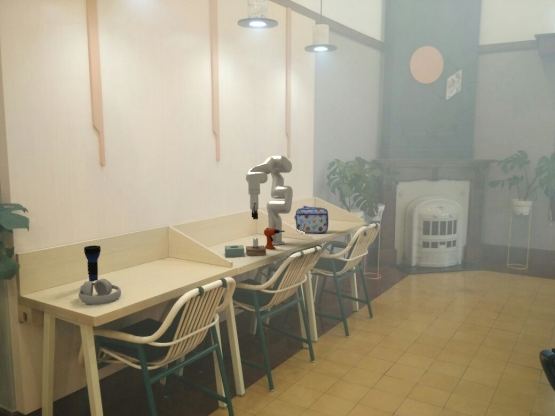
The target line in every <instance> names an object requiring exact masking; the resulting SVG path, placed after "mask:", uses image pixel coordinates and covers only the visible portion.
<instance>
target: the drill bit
mask: <svg viewBox="0 0 555 416" xmlns="http://www.w3.org/2000/svg"><path fill="white" fill-rule="evenodd" d="M252 242H253V243H252V246H253V248H258V246H259V238H257V237H255V238H252Z"/></svg>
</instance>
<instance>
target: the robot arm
mask: <svg viewBox="0 0 555 416" xmlns="http://www.w3.org/2000/svg"><path fill="white" fill-rule="evenodd" d="M292 170H293V163H292V162H291V160H289V159H288V158H287V157H286V156H284V155H280V154H279V155H269V156H267V157H266V159H265V160H264V161H263V162H262V163H261V164H259V165H256V166H253V167H251V168H250V169H249V170H248V171H247V173H246V175H245V180H246V182H247V184H248V186H247V187H248V193H247V194H248V195H249V210H250V211H251V218H252V220H258V219H259V212H258V210H259V195H261V184H265V183H267V181H268V179H269V177H268V176H269V175H271V179H272V180H271V190H270V196H271V198H273V199H270V200H269V201H267V203H266V210H267V218H268V223H267V224H268V228H271V229H272V228H273V229H277V230H280V231H283V228H282V226H283V225H282V224H283V223H282V220H283V219H282V217H281V215H280V214H290V213H291V209H292V204H293V197H294V195H293V194H294V192H293V188H292V187H291V186H289V185H284V184H285V178H284V177H283V176H282V174H285V173H287V174H288V173H290V172H292ZM272 238H273V241H272V245H273V246H280V245H284V244H285V241H284V240H283V232H280V233H277V234H275V235H272Z"/></svg>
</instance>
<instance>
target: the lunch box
mask: <svg viewBox="0 0 555 416" xmlns="http://www.w3.org/2000/svg"><path fill="white" fill-rule="evenodd" d="M293 219H294V220H295V227H296V230H297V229H298V230H300V231H303V232H305V233H315V234H324V233H326V232H328V230H329V229H328V228H329V211H328V209H327V208H325V207H318V206H306V205H303V207H300V208H298V209H296V211H295V214H294V217H293Z"/></svg>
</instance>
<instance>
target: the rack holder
mask: <svg viewBox="0 0 555 416" xmlns="http://www.w3.org/2000/svg"><path fill="white" fill-rule="evenodd" d="M224 257H225V258H229V257H230V258H231V257H233V258H235V257H236V258H237V257H245V248H244V244H238V245H237V244H235V245H224Z"/></svg>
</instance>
